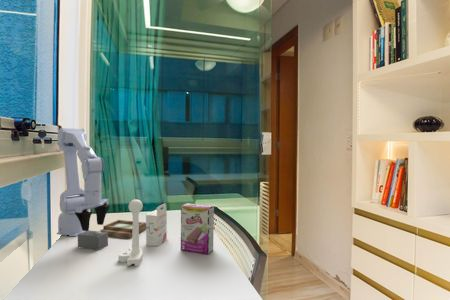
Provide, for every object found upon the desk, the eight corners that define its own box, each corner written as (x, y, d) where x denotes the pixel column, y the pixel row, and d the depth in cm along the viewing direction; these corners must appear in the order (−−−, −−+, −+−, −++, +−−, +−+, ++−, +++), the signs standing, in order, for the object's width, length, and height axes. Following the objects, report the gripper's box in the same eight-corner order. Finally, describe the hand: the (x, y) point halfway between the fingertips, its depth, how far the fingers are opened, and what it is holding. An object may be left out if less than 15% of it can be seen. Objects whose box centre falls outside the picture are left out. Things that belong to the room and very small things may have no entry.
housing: (77, 247, 104) (77, 232, 103) (87, 243, 108) (87, 228, 108) (98, 250, 101) (98, 235, 101) (107, 245, 106) (107, 230, 106)
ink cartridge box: (155, 237, 115) (155, 201, 114) (166, 238, 114) (167, 202, 113) (145, 245, 106) (145, 206, 106) (157, 246, 105) (157, 207, 105)
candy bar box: (179, 250, 102) (180, 205, 101) (186, 245, 107) (186, 202, 106) (208, 255, 98) (209, 208, 98) (213, 250, 103) (214, 205, 102)
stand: (100, 235, 117) (100, 227, 117) (121, 225, 131) (121, 218, 130) (129, 238, 113) (129, 230, 113) (148, 228, 127) (148, 221, 127)
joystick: (142, 265, 89) (142, 202, 89) (116, 268, 87) (116, 204, 87) (142, 252, 100) (142, 196, 99) (119, 254, 98) (119, 196, 97)
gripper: (87, 195, 96) (87, 234, 97) (115, 188, 110) (115, 222, 110) (70, 193, 98) (70, 232, 98) (99, 187, 112) (99, 221, 112)
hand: (93, 227), depth 105 cm, fingers open, 7 cm apart
